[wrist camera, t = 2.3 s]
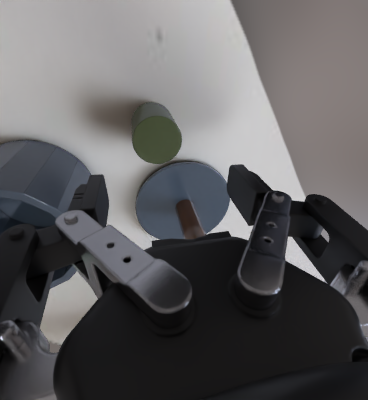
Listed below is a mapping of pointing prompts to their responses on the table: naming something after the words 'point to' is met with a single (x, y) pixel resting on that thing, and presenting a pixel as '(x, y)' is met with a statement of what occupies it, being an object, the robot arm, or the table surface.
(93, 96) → the table surface
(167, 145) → the tin
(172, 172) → the lid
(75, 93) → the table surface
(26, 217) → the canister
